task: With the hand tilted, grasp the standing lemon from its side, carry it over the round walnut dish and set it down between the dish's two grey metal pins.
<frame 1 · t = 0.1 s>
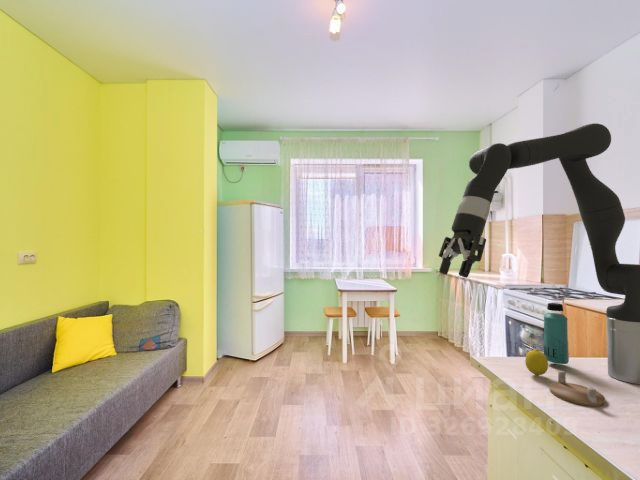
hand: (452, 275, 80), 31 cm above the worktop, tool tilted 20°, fingers open, 8 cm apart
beverage bottle: (556, 365, 100), on the worktop
lemon: (536, 376, 92), on the worktop
pin dish: (576, 395, 80), on the worktop
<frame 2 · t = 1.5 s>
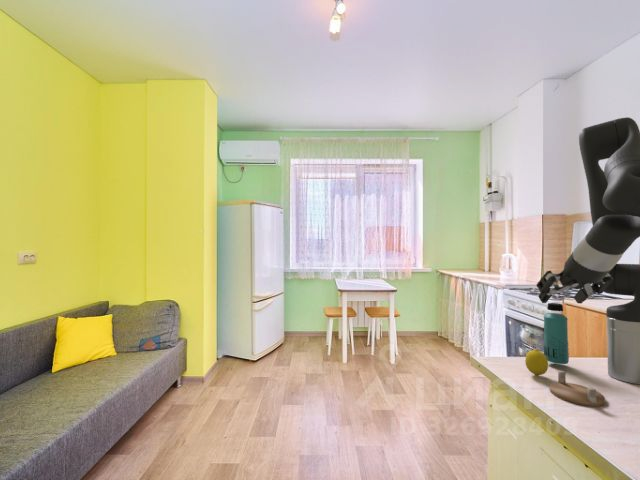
hand: (559, 300, 80), 25 cm above the worktop, tool tilted 45°, fingers open, 8 cm apart
nothing on the worktop moved.
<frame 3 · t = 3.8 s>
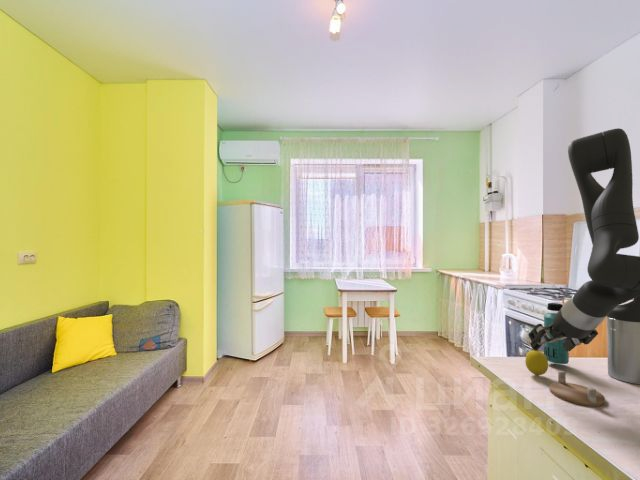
hand: (549, 347, 86), 10 cm above the worktop, tool tilted 45°, fingers open, 8 cm apart
nothing on the worktop moved.
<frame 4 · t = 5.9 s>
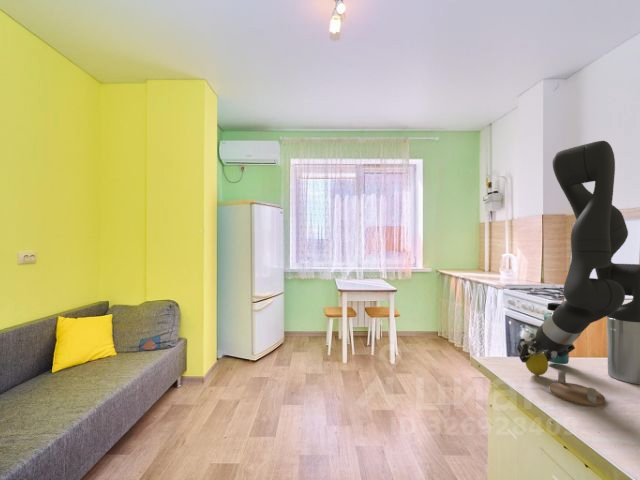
hand: (532, 359, 94), 4 cm above the worktop, tool tilted 45°, fingers closed on lemon, 5 cm apart
lemon: (536, 376, 92), on the worktop, touching gripper
everything else where it was.
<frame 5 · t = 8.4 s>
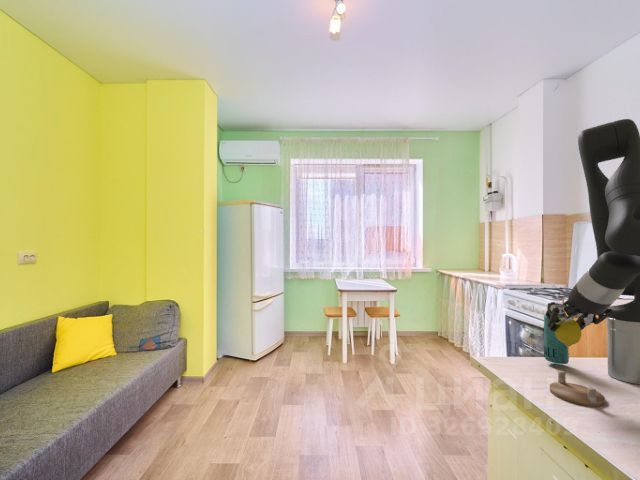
hand: (563, 328, 84), 16 cm above the worktop, tool tilted 45°, fingers closed on lemon, 5 cm apart
lemon: (567, 347, 82), point 12 cm above the worktop, touching gripper
everything else where it was.
when the fingers open (7 cm above the worktop, at t = 10.9 s): lemon drops 1 cm, resting on pin dish.
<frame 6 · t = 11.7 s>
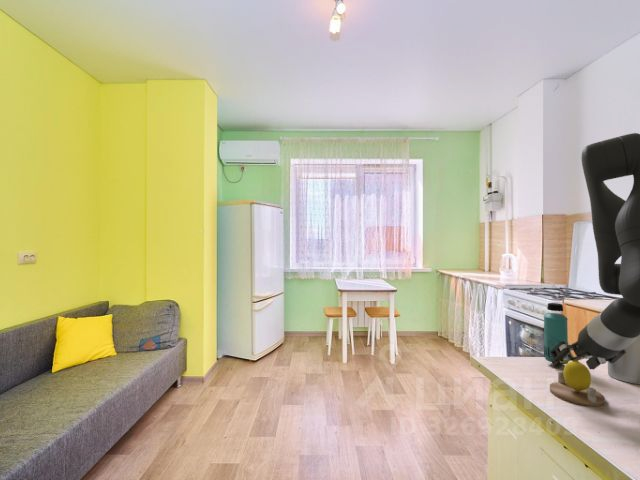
hand: (571, 365, 82), 7 cm above the worktop, tool tilted 45°, fingers open, 8 cm apart
lemon: (577, 392, 80), point 1 cm above the worktop, touching pin dish
everything else where it was.
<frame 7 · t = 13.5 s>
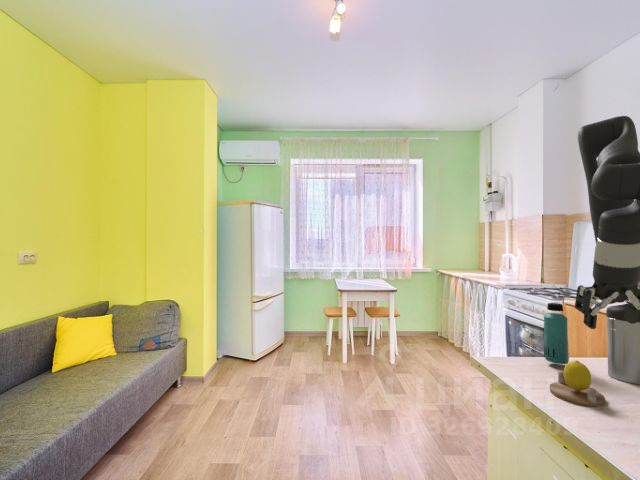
hand: (609, 324, 71), 21 cm above the worktop, tool tilted 20°, fingers open, 8 cm apart
nothing on the worktop moved.
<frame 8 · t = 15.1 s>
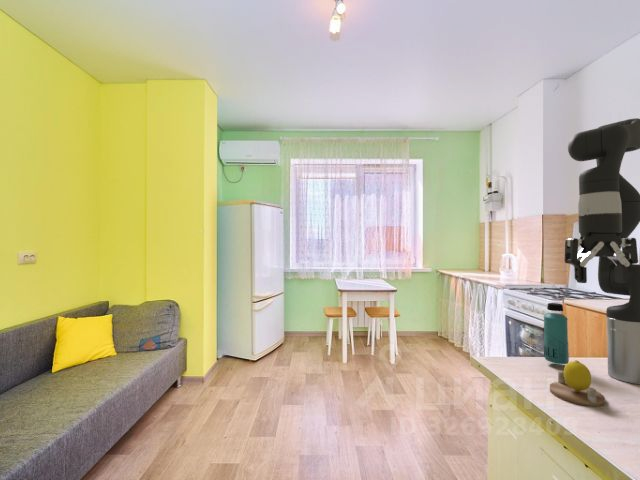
hand: (601, 282, 72), 30 cm above the worktop, tool pointing down, fingers open, 8 cm apart
nothing on the worktop moved.
at the end: lemon 0.3 cm from the pin dish (horizontally); lemon point 0.8 cm above the worktop; the gripper is holding nothing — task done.
